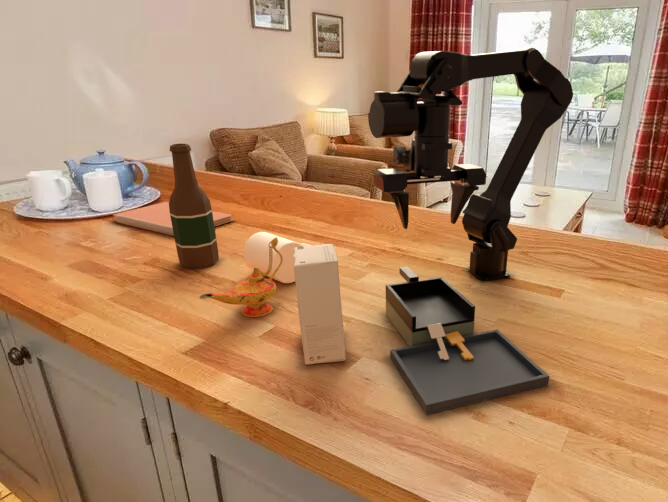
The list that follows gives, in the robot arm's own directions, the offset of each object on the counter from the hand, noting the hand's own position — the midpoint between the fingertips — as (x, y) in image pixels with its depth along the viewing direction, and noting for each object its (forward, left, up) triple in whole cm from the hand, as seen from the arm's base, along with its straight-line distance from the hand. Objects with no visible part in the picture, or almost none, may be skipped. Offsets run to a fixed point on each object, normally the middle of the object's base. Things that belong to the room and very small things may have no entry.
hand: (429, 225), depth 87 cm
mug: (+24, -16, -12) cm, 31 cm away
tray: (+6, +27, -12) cm, 30 cm away
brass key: (+5, +23, -11) cm, 26 cm away
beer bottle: (+40, -28, -12) cm, 50 cm away
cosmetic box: (+23, +15, -12) cm, 30 cm away
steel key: (+8, +22, -10) cm, 26 cm away
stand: (+6, +14, -12) cm, 19 cm away
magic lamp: (+32, 0, -12) cm, 34 cm away
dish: (+6, +11, -9) cm, 16 cm away
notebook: (+47, -62, -12) cm, 79 cm away
